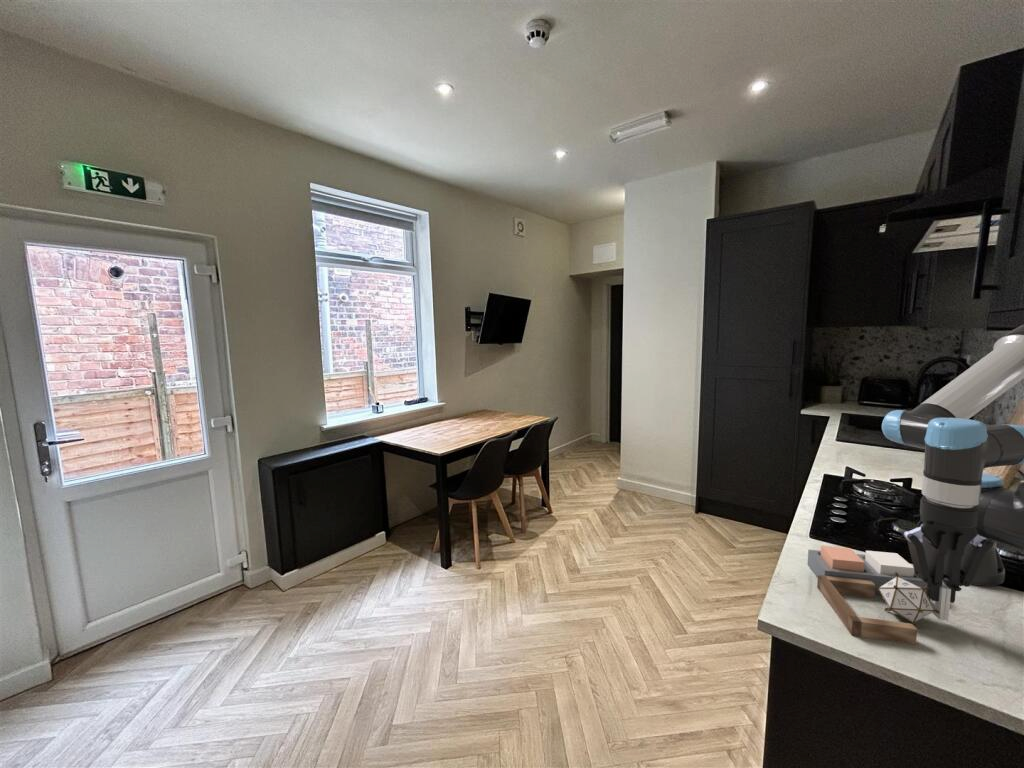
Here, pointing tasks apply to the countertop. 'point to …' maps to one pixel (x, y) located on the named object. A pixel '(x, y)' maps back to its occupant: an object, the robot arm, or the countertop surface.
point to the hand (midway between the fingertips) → (938, 615)
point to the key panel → (869, 572)
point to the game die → (906, 599)
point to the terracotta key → (842, 558)
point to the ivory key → (889, 563)
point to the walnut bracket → (861, 625)
